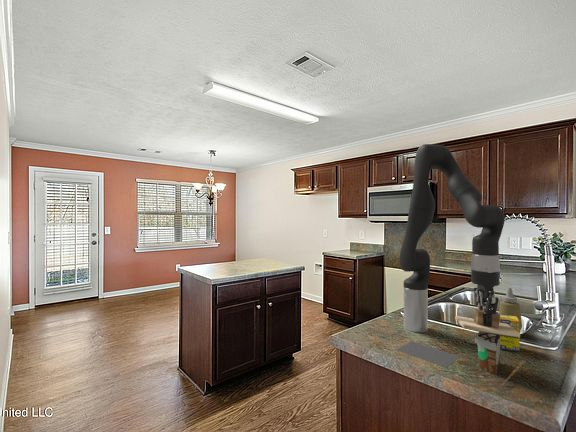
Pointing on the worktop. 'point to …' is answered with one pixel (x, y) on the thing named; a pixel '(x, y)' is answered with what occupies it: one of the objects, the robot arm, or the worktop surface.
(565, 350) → the worktop surface
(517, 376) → the worktop surface
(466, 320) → the lid
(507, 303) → the squeeze bottle
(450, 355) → the mat
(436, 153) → the robot arm
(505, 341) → the supplement box
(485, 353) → the food container
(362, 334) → the worktop surface
